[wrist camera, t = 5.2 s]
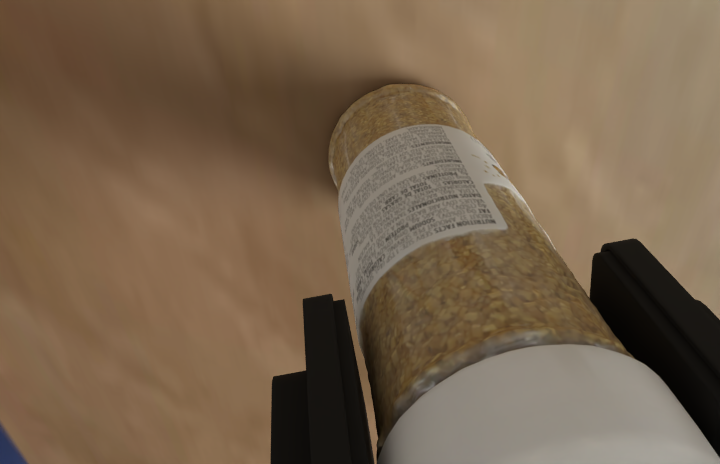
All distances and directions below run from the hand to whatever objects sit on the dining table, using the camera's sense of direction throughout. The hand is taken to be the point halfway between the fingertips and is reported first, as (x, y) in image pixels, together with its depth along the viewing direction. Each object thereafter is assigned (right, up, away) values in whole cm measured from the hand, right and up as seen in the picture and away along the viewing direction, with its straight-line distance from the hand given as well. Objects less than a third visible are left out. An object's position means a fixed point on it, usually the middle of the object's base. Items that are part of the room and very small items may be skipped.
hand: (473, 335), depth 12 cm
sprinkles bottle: (-1, +5, +8) cm, 9 cm away
